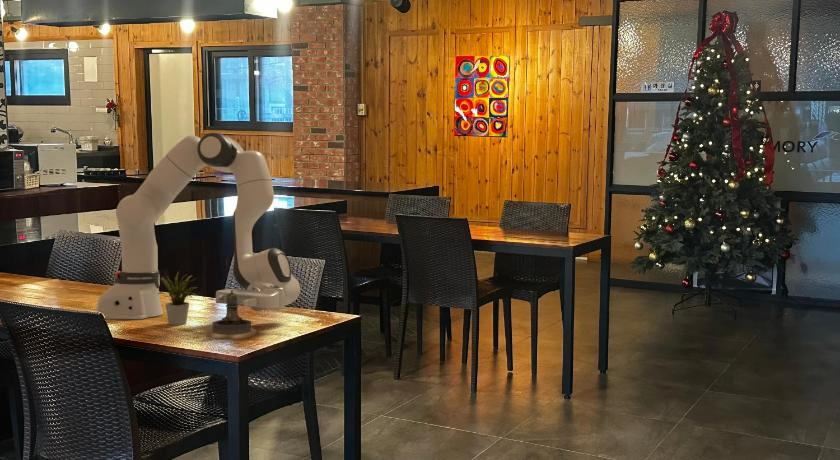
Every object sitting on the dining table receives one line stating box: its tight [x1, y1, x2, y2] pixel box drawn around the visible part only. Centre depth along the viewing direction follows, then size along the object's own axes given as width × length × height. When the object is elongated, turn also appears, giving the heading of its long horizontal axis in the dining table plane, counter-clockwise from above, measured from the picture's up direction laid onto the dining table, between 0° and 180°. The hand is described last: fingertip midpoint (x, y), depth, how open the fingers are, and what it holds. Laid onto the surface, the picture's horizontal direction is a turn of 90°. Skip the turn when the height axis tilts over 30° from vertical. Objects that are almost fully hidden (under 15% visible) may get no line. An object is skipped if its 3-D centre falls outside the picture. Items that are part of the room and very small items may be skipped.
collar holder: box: [206, 319, 258, 340], centre depth 270 cm, size 14×14×4 cm
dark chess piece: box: [221, 290, 243, 325], centre depth 269 cm, size 6×6×12 cm
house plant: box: [153, 270, 198, 326], centre depth 284 cm, size 14×14×16 cm
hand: (229, 301), depth 268 cm, fingers open, 8 cm apart
